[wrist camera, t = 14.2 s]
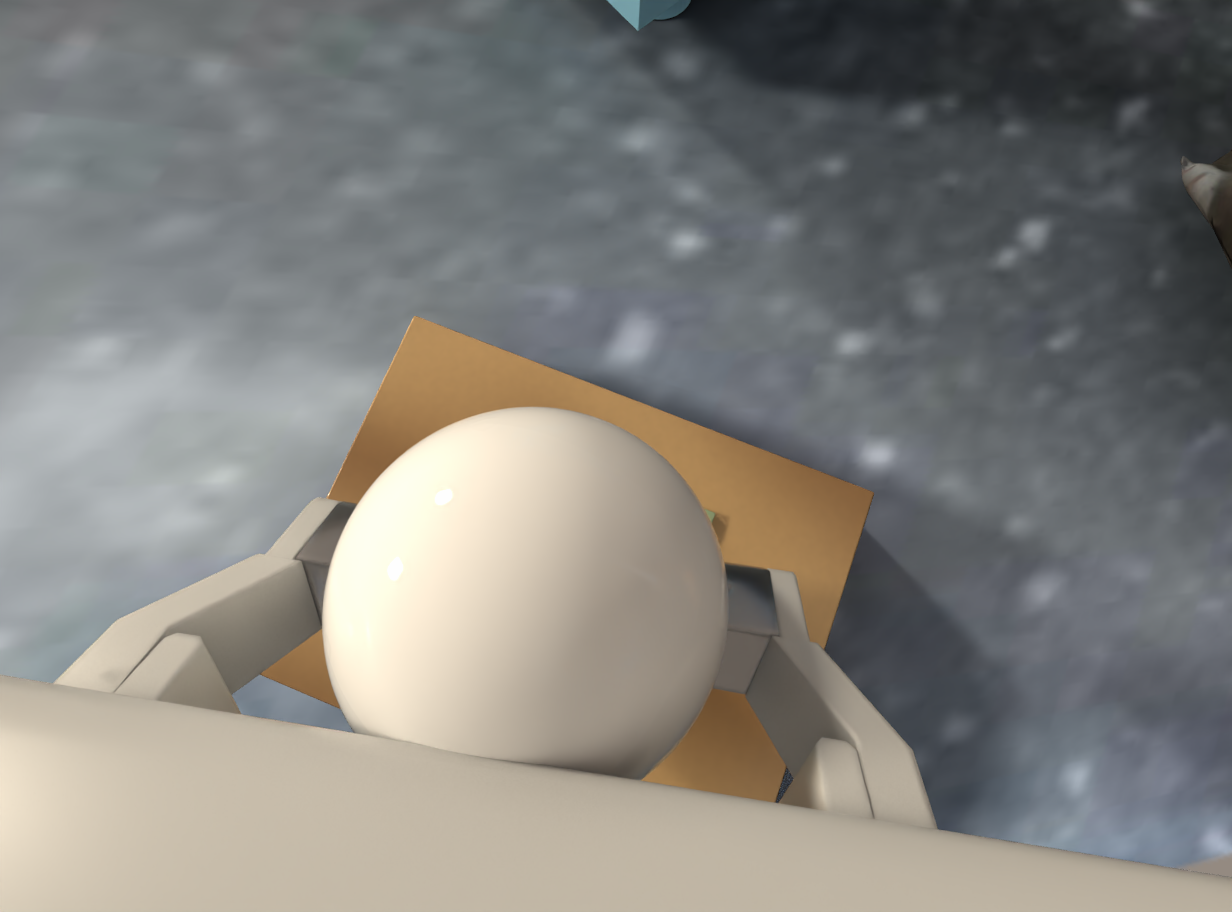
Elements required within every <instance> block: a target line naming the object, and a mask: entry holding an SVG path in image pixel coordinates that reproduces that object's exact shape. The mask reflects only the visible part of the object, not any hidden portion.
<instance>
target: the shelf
mask: <svg viewBox="0 0 1232 912" xmlns="http://www.w3.org/2000/svg"><path fill="white" fill-rule="evenodd" d="M529 406H534V407H552V408H560V409H567V410H572V411H577V412H580V413H584V414H588V415H591V416H594V417H597V418H600V419H603V420H605V421H608V422H610V423H612V424H615V425H617V426H619V427H621V428H623V429H625V430H627V431H628V432H630V433H632V434H634V435H635V436H637V437H638V438H640V439H641V440H643V441H644V442H646V443H647V444H649V445H650V446H651V447H653V448H654V449H655V450H656V451H657V452H659V453H660V454H661V455H662V456H663V457H664V458H665V459H666V460H667V461H668V462H669V463H670V464H672V465H673V467H674V468H675V469H676V470H677V471H678V472H679V473H680V474H681V475H682V477H683V478H684V479H685V480H686V482H687V483H688V484H689V485H690V487H691V488H692V490H693V491H694V492H695V494H696V495H697V497H698V499H699V500H700V502H701V503H702V505H703V507H704V509H705V511H706V512H707V515H708V517H709V519H710V521H711V523H712V525H713V528H714V530H715V533H716V535H717V538H718V541H719V544H720V547H721V551H722V554H723V558H724V562H729V563H736V564H742V565H749V566H756V567H763V568H766V569H767V568H770V569H777V570H784V571H790V572H794V574H795V575H796V577H797V582H798V587H799V591H800V596H801V601H802V606H803V610H804V615H805V620H806V625H807V629H808V634H809V639H810V642H814V643H818V644H819V645H820V646H821V647H822V648H823V649H825V646H826V643H827V640H828V637H829V634H830V630H831V627H832V624H833V621H834V618H835V615H836V612H837V609H838V605H839V602H840V599H841V596H842V593H843V590H844V587H845V584H846V580H847V577H848V574H849V571H850V568H851V565H852V562H853V559H854V555H855V552H856V549H857V546H858V543H859V540H860V537H861V534H862V530H863V527H864V524H865V521H866V518H867V515H868V512H869V509H870V505H871V502H872V499H873V496H874V492H872V491H870V490H867V489H864V488H862V487H859V486H857V485H854V484H851V483H849V482H846V481H844V480H841V479H838V478H836V477H833V476H831V475H828V474H825V473H823V472H820V471H818V470H815V469H812V468H810V467H807V466H805V465H802V464H799V463H797V462H794V461H792V460H789V459H786V458H784V457H781V456H779V455H776V454H773V453H771V452H768V451H766V450H763V449H760V448H758V447H755V446H753V445H750V444H747V443H745V442H742V441H740V440H737V439H734V438H732V437H729V436H727V435H724V434H721V433H719V432H716V431H714V430H711V429H708V428H706V427H703V426H701V425H698V424H695V423H693V422H690V421H688V420H685V419H682V418H680V417H677V416H675V415H672V414H669V413H667V412H664V411H662V410H659V409H656V408H654V407H651V406H649V405H646V404H643V403H641V402H638V401H636V400H633V399H630V398H628V397H625V396H623V395H620V394H617V393H615V392H612V391H610V390H607V389H604V388H602V387H599V386H597V385H594V384H591V383H589V382H586V381H584V380H581V379H578V378H576V377H573V376H571V375H568V374H565V373H563V372H560V371H558V370H555V369H552V368H550V367H547V366H545V365H542V364H539V363H537V362H534V361H532V360H529V359H526V358H524V357H521V356H519V355H516V354H513V353H511V352H508V351H506V350H503V349H500V348H498V347H495V346H493V345H490V344H487V343H485V342H482V341H480V340H477V339H474V338H472V337H469V336H467V335H464V334H461V333H459V332H456V331H454V330H451V329H448V328H446V327H443V326H441V325H438V324H435V323H433V322H430V321H428V320H425V319H422V318H420V317H417V316H414V317H413V319H412V321H411V323H410V326H409V328H408V330H407V332H406V334H405V336H404V338H403V340H402V342H401V344H400V346H399V348H398V350H397V353H396V355H395V357H394V359H393V361H392V363H391V365H390V367H389V369H388V371H387V373H386V375H385V377H384V380H383V382H382V384H381V386H380V388H379V390H378V392H377V394H376V396H375V398H374V400H373V402H372V405H371V407H370V409H369V411H368V413H367V415H366V417H365V419H364V421H363V423H362V425H361V427H360V429H359V432H358V434H357V436H356V438H355V440H354V442H353V444H352V446H351V448H350V450H349V452H348V454H347V456H346V459H345V461H344V463H343V465H342V467H341V469H340V471H339V473H338V475H337V477H336V479H335V481H334V483H333V486H332V488H331V490H330V492H329V494H328V496H327V498H326V499H331V500H336V501H342V502H343V501H345V502H350V503H356V504H358V502H359V501H360V500H361V498H362V497H363V495H364V494H365V492H366V491H367V490H368V489H369V487H370V486H371V485H372V484H373V482H374V481H375V480H376V479H377V478H378V477H379V476H380V475H381V473H382V472H383V471H384V470H385V469H386V468H387V467H388V466H389V465H390V464H392V463H393V462H394V461H395V460H396V459H397V458H398V457H399V456H401V455H402V454H403V453H404V452H405V451H407V450H408V449H409V448H411V447H412V446H413V445H415V444H416V443H418V442H419V441H421V440H422V439H424V438H426V437H427V436H429V435H430V434H432V433H434V432H436V431H438V430H439V429H441V428H444V427H446V426H448V425H450V424H452V423H454V422H457V421H459V420H462V419H465V418H467V417H470V416H474V415H477V414H481V413H484V412H489V411H493V410H498V409H505V408H513V407H529ZM321 627H322V626H321ZM260 675H262V676H265V677H267V678H269V679H272V680H274V681H276V682H279V683H281V684H283V685H286V686H288V687H290V688H293V689H295V690H297V691H300V692H302V693H304V694H307V695H309V696H311V697H314V698H316V699H318V700H321V701H323V702H325V703H328V704H330V705H332V706H335V707H337V708H339V709H341V708H340V706H339V704H338V701H337V699H336V696H335V694H334V691H333V688H332V685H331V682H330V678H329V675H328V670H327V666H326V661H325V655H324V648H323V637H322V629H321V630H320V631H318V632H317V633H315V634H314V635H313V636H311V637H310V638H309V639H307V640H306V641H304V642H303V643H302V644H300V645H299V646H298V647H296V648H295V649H293V650H292V651H291V652H289V653H288V654H287V655H285V656H284V657H283V658H281V659H280V660H278V661H277V662H276V663H274V664H273V665H272V666H270V667H269V668H267V669H266V670H265V671H263V672H262V673H261V674H260ZM745 696H746V695H745V694H740V693H735V692H729V691H724V690H719V689H712V691H711V693H710V696H709V698H708V700H707V702H706V704H705V706H704V708H703V710H702V712H701V714H700V715H699V717H698V719H697V720H696V722H695V723H694V725H693V726H692V728H691V729H690V731H689V732H688V734H687V735H686V736H685V738H684V739H683V740H682V742H681V743H680V744H679V745H678V746H677V748H676V749H675V750H674V751H673V752H672V753H671V754H670V756H669V757H668V758H667V759H666V760H665V761H664V762H663V763H662V764H661V765H660V766H659V767H657V768H656V769H655V770H654V771H653V772H652V773H651V774H649V775H648V776H647V777H646V778H644V779H643V780H642V781H647V782H653V783H659V784H665V785H671V786H677V787H683V788H689V789H695V790H701V791H707V792H714V793H720V794H726V795H732V796H738V797H744V798H750V799H756V800H762V801H768V802H774V803H775V802H776V799H777V796H778V793H779V790H780V787H781V783H782V780H783V777H784V774H785V771H786V768H787V766H786V765H785V763H784V761H783V760H782V758H781V756H780V755H779V753H778V751H777V750H776V748H775V746H774V744H773V743H772V741H771V739H770V738H769V736H768V734H767V733H766V731H765V729H764V728H763V726H762V724H761V723H760V721H759V719H758V718H757V716H756V714H755V712H754V711H753V709H752V707H751V706H750V704H749V702H748V701H747V699H746V697H745Z"/></svg>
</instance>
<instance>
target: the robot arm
mask: <svg viewBox="0 0 1232 912" xmlns="http://www.w3.org/2000/svg"><path fill="white" fill-rule="evenodd" d="M356 506H357V504H356V503H350V502H345V501H343V502H342V501H336V500H331V499H326V498H320V497H318V498H316V499H314V500H312V501H311V502H310V503H309V504H308V505H307V506H306V507H305V508H304V510H303V511H302V512H301V513H300V514H299V516H298V517H297V518H296V519H295V520H294V521H293V523H292V524H291V525H290V526H289V527H288V529H287V530H286V531H285V532H284V533H283V535H282V536H281V537H280V538H279V539H278V540H277V542H276V543H275V544H274V545H273V546H272V548H271V549H270V550H269V551H268V552H267V553H266V555H262V554H256V555H254V556H252V557H250V558H248V559H246V560H244V561H241V562H239V563H237V564H235V565H233V566H231V567H229V568H227V569H224V570H222V571H220V572H218V573H216V574H214V575H212V576H210V577H207V578H205V579H203V580H201V581H199V582H197V583H195V584H193V585H190V586H188V587H186V588H184V589H182V590H180V591H178V592H176V593H173V594H171V595H169V596H167V597H165V598H163V599H161V600H159V601H156V602H154V603H152V604H150V605H148V606H146V607H144V608H142V609H139V610H137V611H135V612H133V613H131V614H129V615H127V616H125V617H122V618H120V619H118V620H116V621H115V622H114V623H113V624H112V625H111V626H110V627H109V628H108V629H107V630H106V631H105V632H104V633H103V634H102V635H101V636H100V637H99V638H98V639H97V640H96V641H95V642H94V643H93V644H92V645H91V646H90V647H89V648H88V649H87V650H86V651H85V652H84V653H83V654H82V655H81V656H80V657H79V658H78V659H77V660H76V661H75V662H74V663H73V664H72V665H71V666H70V667H69V668H68V669H67V670H66V671H65V672H64V673H63V674H62V675H61V676H60V677H59V678H58V679H57V680H56V681H55V682H54V683H47V682H41V681H35V680H29V679H23V678H17V677H11V676H5V675H0V912H1232V877H1227V876H1221V875H1214V874H1208V873H1201V872H1194V871H1188V870H1182V869H1176V868H1170V867H1164V866H1158V865H1152V864H1146V863H1140V862H1134V861H1128V860H1121V859H1115V858H1109V857H1103V856H1097V855H1091V854H1085V853H1079V852H1073V851H1067V850H1061V849H1055V848H1048V847H1042V846H1036V845H1030V844H1024V843H1018V842H1012V841H1006V840H1000V839H994V838H987V837H981V836H975V835H969V834H963V833H957V832H951V831H945V830H939V829H938V828H937V825H936V822H935V818H934V815H933V812H932V809H931V806H930V803H929V799H928V796H927V793H926V790H925V787H924V784H923V781H922V777H921V774H920V771H919V768H918V765H917V762H916V759H915V755H914V752H913V750H912V749H911V748H910V747H909V745H908V744H907V743H906V742H905V741H904V740H903V739H902V738H901V736H900V735H899V734H898V733H897V732H896V731H895V730H894V728H893V727H892V726H891V725H890V724H889V723H888V722H887V721H886V719H885V718H884V717H883V716H882V715H881V714H880V713H879V712H878V710H877V709H876V708H875V707H874V706H873V705H872V704H871V703H870V701H869V700H868V699H867V698H866V697H865V696H864V695H863V694H862V692H861V691H860V690H859V689H858V688H857V687H856V686H855V684H854V683H853V682H852V681H851V680H850V679H849V678H848V677H847V675H846V674H845V673H844V672H843V671H842V670H841V669H840V668H839V666H838V665H837V664H836V663H835V662H834V661H833V660H832V659H831V657H830V656H829V655H828V654H827V653H826V652H825V651H824V649H823V648H822V647H821V646H820V645H819V644H818V643H814V642H810V639H809V634H808V629H807V625H806V620H805V615H804V610H803V606H802V601H801V596H800V591H799V587H798V582H797V577H796V575H795V574H794V572H790V571H784V570H777V569H770V568H767V569H766V568H763V567H756V566H749V565H742V564H736V563H729V562H724V563H725V568H726V574H727V581H728V592H729V619H728V630H727V638H726V644H725V649H724V654H723V658H722V662H721V666H720V669H719V672H718V675H717V678H716V681H715V684H714V686H713V689H719V690H724V691H729V692H735V693H740V694H745V695H746V696H745V697H746V699H747V701H748V702H749V704H750V706H751V707H752V709H753V711H754V712H755V714H756V716H757V718H758V719H759V721H760V723H761V724H762V726H763V728H764V729H765V731H766V733H767V734H768V736H769V738H770V739H771V741H772V743H773V744H774V746H775V748H776V750H777V751H778V753H779V755H780V756H781V758H782V760H783V761H784V763H785V765H786V766H787V768H788V770H789V771H790V773H791V775H792V776H793V778H794V779H793V781H792V783H791V784H790V786H789V787H788V789H787V790H786V792H785V793H784V795H783V797H782V798H781V800H780V801H779V803H774V802H768V801H762V800H756V799H750V798H744V797H738V796H732V795H726V794H720V793H714V792H707V791H701V790H695V789H689V788H683V787H677V786H671V785H665V784H659V783H653V782H647V781H641V780H635V779H628V778H622V777H616V776H610V775H604V774H598V773H592V772H586V771H580V770H574V769H568V768H562V767H556V766H550V765H543V764H532V763H522V762H514V761H506V760H498V759H491V758H484V757H478V756H472V755H467V754H462V753H456V752H452V751H447V750H442V749H438V748H434V747H430V746H426V745H421V744H416V743H411V742H405V741H399V740H393V739H387V738H381V737H375V736H369V735H363V734H356V733H350V732H344V731H338V730H332V729H326V728H320V727H314V726H308V725H302V724H296V723H290V722H284V721H278V720H272V719H266V718H259V717H253V716H247V715H241V713H240V711H239V709H238V707H237V705H236V703H235V701H234V699H233V697H232V694H233V693H235V692H236V691H237V690H239V689H240V688H241V687H243V686H244V685H246V684H247V683H248V682H250V681H251V680H252V679H254V678H255V677H256V676H258V675H259V674H261V673H262V672H263V671H265V670H266V669H267V668H269V667H270V666H272V665H273V664H274V663H276V662H277V661H278V660H280V659H281V658H283V657H284V656H285V655H287V654H288V653H289V652H291V651H292V650H293V649H295V648H296V647H298V646H299V645H300V644H302V643H303V642H304V641H306V640H307V639H309V638H310V637H311V636H313V635H314V634H315V633H317V632H318V631H320V630H321V629H322V627H321V626H322V608H323V597H324V589H325V584H326V579H327V574H328V570H329V567H330V563H331V560H332V556H333V553H334V550H335V548H336V545H337V543H338V540H339V538H340V535H341V533H342V531H343V529H344V527H345V525H346V523H347V521H348V519H349V517H350V516H351V514H352V512H353V510H354V509H355V507H356Z"/></svg>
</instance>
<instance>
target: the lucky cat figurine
mask: <svg viewBox="0 0 1232 912" xmlns="http://www.w3.org/2000/svg"><path fill="white" fill-rule="evenodd" d="M1181 165H1182V179H1183V184H1184V186H1185V188H1186V191H1187V192H1188V194H1189V195H1190V197H1191V198H1192V200H1193V201H1194V202H1195V204H1196V205H1197V207H1198V208H1199V210H1200V211H1201V213H1202V214H1203V215H1204V217H1205V218H1206V220H1207V221H1208V223H1209V224H1210V225H1211V227H1212V228H1213V230H1214V232H1215V234H1216V236H1217V238H1218V240H1219V242H1220V245H1221V247H1222V249H1223V251H1224V253H1225V255H1226V258H1227V260H1228V262H1229V264H1230V266H1231V268H1232V150H1231V151H1230V152H1229V153H1227V154H1226V155H1224V156H1223V157H1221V158H1219V159H1218V160H1217V161H1215V162H1214V163H1213V164H1202V163H1200V164H1196V163H1193V162H1191V161H1190V160H1188V159H1187V158H1186V157H1184V156H1183V157H1182V159H1181Z"/></svg>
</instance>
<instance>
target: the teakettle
mask: <svg viewBox="0 0 1232 912" xmlns="http://www.w3.org/2000/svg"><path fill="white" fill-rule="evenodd" d="M607 1H608V2H609V3H610V4H611V5H612V6H613V7H614V8H615V9H616V10H617V11H618V12H619V13H620V14H621V15H622V16H623V17H624V18H625V19H626V20H627V21H628V22H629V23H630V24H631V25H632V26H633V27H634V28H635V29H637V30H638V31H639V30H640V29H642V28H643V27H644V26H646V25H647V24H648V23H650V22H651V21H652V20H654V19H668V18H672V17H674V16H677V15H678V14H680V13H681V12H683V11H684V10H685V9H686V8H687V6H688V5H689V3H690V1H691V0H607Z"/></svg>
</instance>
